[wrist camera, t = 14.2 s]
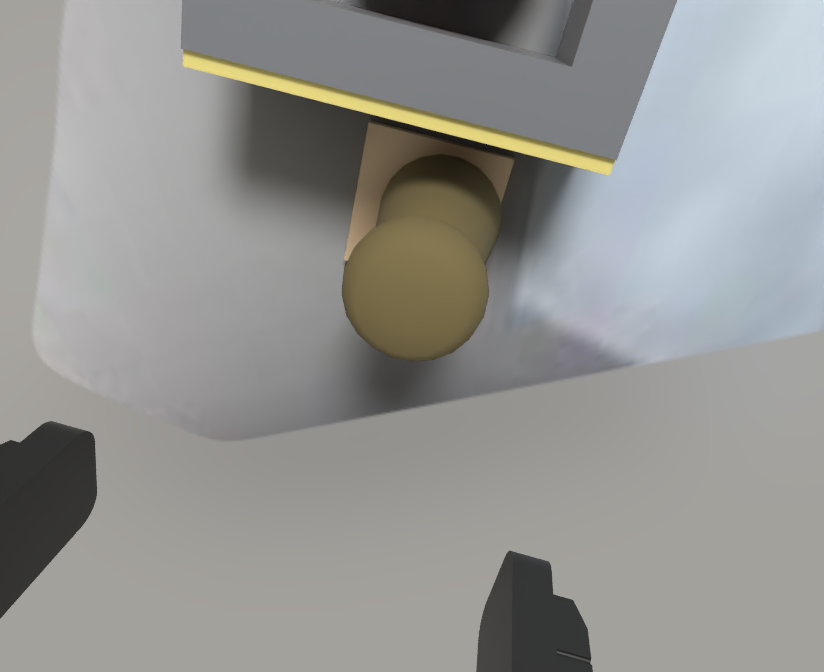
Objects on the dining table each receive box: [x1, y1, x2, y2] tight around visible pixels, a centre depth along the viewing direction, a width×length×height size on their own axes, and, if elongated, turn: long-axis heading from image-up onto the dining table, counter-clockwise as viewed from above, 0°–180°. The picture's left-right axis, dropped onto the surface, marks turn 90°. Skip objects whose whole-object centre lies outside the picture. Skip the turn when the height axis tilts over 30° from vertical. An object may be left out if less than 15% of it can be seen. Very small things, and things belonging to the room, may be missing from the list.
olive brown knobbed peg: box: [342, 154, 502, 361], centre depth 25 cm, size 6×6×11 cm
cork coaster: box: [344, 121, 514, 261], centre depth 30 cm, size 7×7×1 cm
